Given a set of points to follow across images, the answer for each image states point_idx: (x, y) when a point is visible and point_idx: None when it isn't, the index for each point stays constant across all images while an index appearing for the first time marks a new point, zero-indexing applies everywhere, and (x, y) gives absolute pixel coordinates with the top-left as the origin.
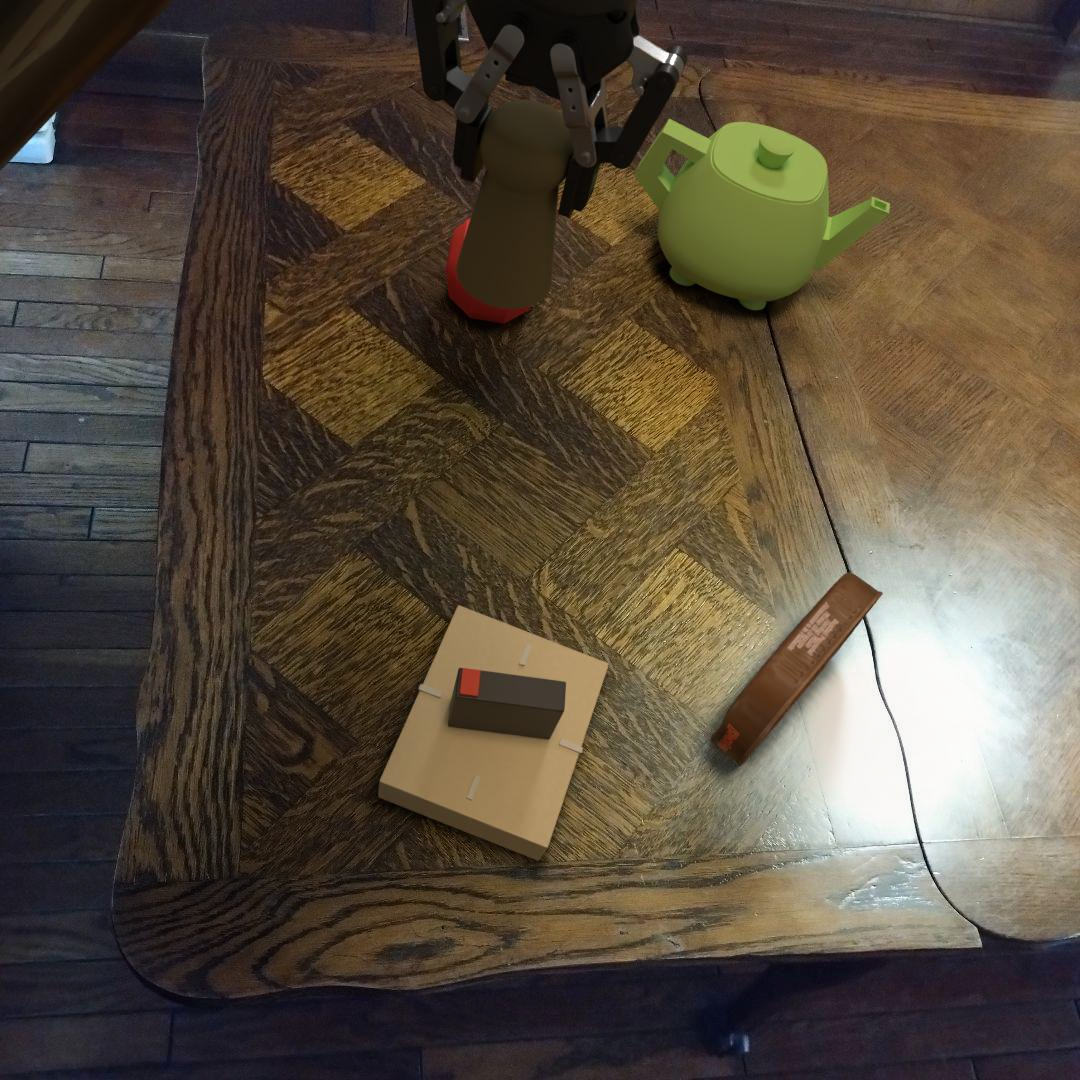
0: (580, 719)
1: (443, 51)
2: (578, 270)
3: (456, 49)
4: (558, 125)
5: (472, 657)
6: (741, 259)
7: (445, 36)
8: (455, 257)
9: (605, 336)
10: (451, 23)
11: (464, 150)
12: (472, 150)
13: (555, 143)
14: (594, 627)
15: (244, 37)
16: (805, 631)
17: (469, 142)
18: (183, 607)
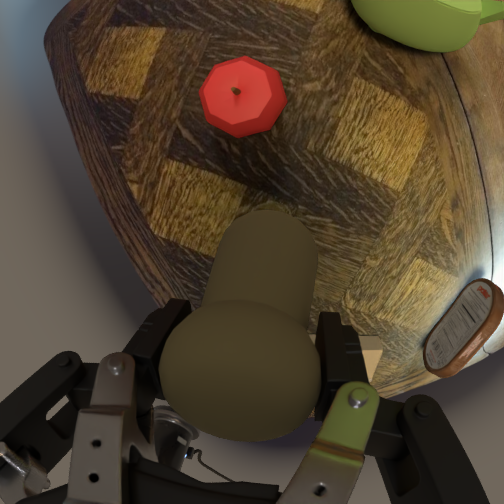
0: (370, 371)
1: (65, 444)
2: (302, 44)
3: (55, 402)
4: (277, 418)
5: None
6: (434, 40)
7: (50, 447)
8: (211, 122)
9: (344, 98)
10: (31, 436)
11: None
12: None
13: (284, 433)
14: (375, 314)
15: (51, 24)
16: (468, 348)
17: None
18: None
